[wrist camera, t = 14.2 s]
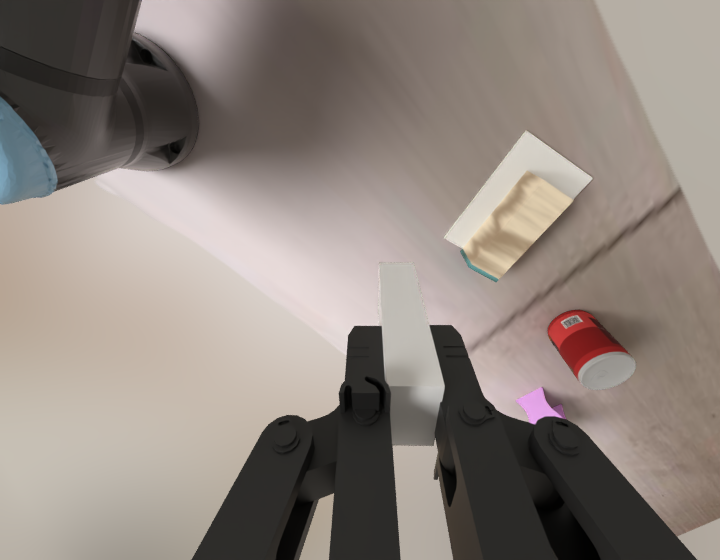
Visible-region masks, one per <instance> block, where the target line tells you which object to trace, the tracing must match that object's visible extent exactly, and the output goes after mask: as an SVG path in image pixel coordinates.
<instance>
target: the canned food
mask: <svg viewBox="0 0 720 560" xmlns="http://www.w3.org/2000/svg"><path fill="white" fill-rule="evenodd" d="M548 336H549V339H550V341H551V342H552V343H553V345H554V346H555V348H556V349H557V351H558V352H559V353H560V355H561V356H562V358H563V359H564V361H565V362H566V363H567V365H568V366H569V368H570V369H571V371H572V372H573V374H574V375H575V376H576V378H577V379H578V380H579V382H580V383H581V384H582V385H583V386H584V387H586V388H588V389H592V390H603V389H608V388H612V387H615V386H617V385H619V384H621V383H623V382H624V381H626V380H627V379H628V378H629V377H631V376H632V374H633V373H634V371H635V369H636V362H635V360H634V359H633V357H632V356H631V355H630V354H629V353H628V352H627V351H626V350H625V349H624V348H623V347H622V346H621V344H620V343H619V342H618V341H617V340H616V339H615V338H614V337H613V336H612V335H611V334H610V333H609V332H608V331H607V330H606V329H605V328H604V327H603V326H602V325H601V324H600V323H599V322H598V321H597V320H596V319H595V318H594V317H593V316H592V315H591V314H589V313H587V312H585V311H582V310H571V311H568V312H565V313H562V314H561V315H559V316H557V317H556V318H555V319H554V320H553V321H552V322H551V323H550V325H549V327H548Z"/></svg>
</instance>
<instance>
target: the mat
mask: <svg viewBox="0 0 720 560" xmlns="http://www.w3.org/2000/svg"><path fill="white" fill-rule="evenodd" d="M526 171H529V172H531V173H532V174H534V175H536V176H538V177H540V178H541V179H543V180H545V181H546V182H548V183H549V184H551V185H552V186H554V187H555V188H557V189H558V190H559V191H561V192H562V193H564V194H565V195H567V196H568V197H570V198H571V199H574V198H575V197H576V196H577V195H578V194H579V193H580V192H581V191H582V190H583V188H584V187H585V186H586V185H587V184H588V183H589V182H590V181H591V180H592V179H593V178H592V177H591V176H589V175H588V174H586V173H585V172H584V171H582V170H581V169H579V168H578V167H577V166H575V165H574V164H572V163H571V162H570V161H568V160H567V159H566V158H564V157H563V156H561V155H560V154H559V153H557V152H556V151H554V150H553V149H552V148H550V147H549V146H547V145H546V144H545V143H543V142H542V141H541V140H539V139H538V138H536V137H535V136H534V135H532V134H531V133H529V132H528V131H525V132H524V133H523V135H522V136H521V137H520V138H519V140H518V141H517V142H516V144H515V145H514V146H513V148H512V149H511V150H510V152H509V153H508V154H507V155H506V157H505V158H504V159H503V161H502V162H501V163H500V165H499V166H498V167H497V169H496V170H495V171H494V172H493V174H492V175H491V176H490V178H489V179H488V180H487V182H486V183H485V184H484V185H483V187H482V188H481V189H480V191H479V192H478V193H477V195H476V196H475V197H474V199H473V200H472V201H471V202H470V204H469V205H468V206H467V208H466V209H465V210H464V212H463V213H462V214H461V216H460V217H459V218H458V219H457V221H456V222H455V223H454V225H453V226H452V227H451V229H450V230H449V231H448V232H447V234H446V235H445V236H444V239H446V240H448V241H450V242H452V243H453V244H455V245H457V246H459V247H461V248H462V249H463V248H464V246H465V245H466V244H467V243H468V241H469V240H470V239H471V238H472V237H473V235H474V234H475V233H476V232H477V230H478V229H479V228H480V227H481V226H482V224H483V223H484V222H485V221H486V220H487V218H488V217H489V216H490V215H491V213H492V212H493V211H494V210H495V209H496V207H497V206H498V205H499V204H500V202H501V201H502V200H503V199H504V198H505V196H506V195H507V194H508V193H509V192H510V190H511V189H512V188H513V187H514V185H515V184H516V183H517V182H518V181H519V179H520V178H521V177H522V176H523V175H524V173H525V172H526Z"/></svg>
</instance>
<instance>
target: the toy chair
mask: <svg viewBox="0 0 720 560" xmlns="http://www.w3.org/2000/svg"><path fill="white" fill-rule="evenodd" d="M516 402H517V403H518V404H520V405H521V406H522V407H523V409H524V410H525V411H526V413H527V415H528V418H529V423H532V424H536V422H537V420H539V419H541V418H543V417H545V416H556V417H559V418H563V419H566V417H565V415H564V411H563V407H562V404H560V405H557V406H555V407H553V408H551V407H550V406H549V405H548V403H547V401H546V399H545V395H544V390H543V388H542V387H541V388H539V389H537V390H535V391H533V392H531V393H529V394H527V395H525V396H523V397H521V398H519V399H517V400H516ZM566 420H567V419H566Z"/></svg>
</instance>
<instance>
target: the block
mask: <svg viewBox="0 0 720 560" xmlns="http://www.w3.org/2000/svg"><path fill="white" fill-rule="evenodd" d="M573 201H574V200H573V199H571V198H570V197H568V196H567V195H565V194H564V193H562V192H561V191H559V190H558V189H557V188H555V187H554V186H552V185H551V184H549V183H548V182H546V181H545V180H543V179H541V178H540V177H538V176H536V175H534V174H532V173H531V172H529V171H526V172H525V173H524V175H523V176H522V177H521V178H520V179H519V181H518V182H517V183H516V184H515V185H514V187H513V188H512V189H511V190H510V192H509V193H508V194H507V195H506V196H505V198H504V199H503V200H502V201H501V202H500V204H499V205H498V206H497V207H496V209H495V210H494V211H493V212H492V213H491V215H490V216H489V217H488V218H487V220H486V221H485V222H484V223H483V224H482V226H481V227H480V228H479V229H478V230H477V232H476V233H475V234H474V235H473V237H472V238H471V239H470V240H469V241H468V243H467V244H466V245H465V246H464V248H463V249H462V250H461V251H460V252H461V254H462V256H463V258H464V259H465V261H466V263H467V265H468V267H469V268H471V269H472V270H474V271H476V272H478V273H480V274H482V275H483V276H485V277H487V278H489V279H491V280H493V281H494V282H497V281H498V280H499V279H500V278H501V277H502V276H503V275H504V274H505V272H506V271H507V270H508V269H509V268H510V267H511V266H512V265H513V264H514V263H515V262H516V261H517V260H518V259H519V258H520V257H521V256H522V255H523V253H524V252H525V251H526V250H527V249H528V248H529V247H530V246H531V245H532V244H533V243H534V242H535V241H536V240H537V239H538V238H539V237H540V236H541V235H542V233H543V232H544V231H545V230H546V229H547V228H548V227H549V226H550V225H551V224H552V223H553V222H554V221H555V220H556V219H557V218H558V217H559V216H560V215H561V213H562V212H563V211H564V210H565V209H566V208H567V207H568V206H569V205H570V204H571V203H572V202H573Z"/></svg>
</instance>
